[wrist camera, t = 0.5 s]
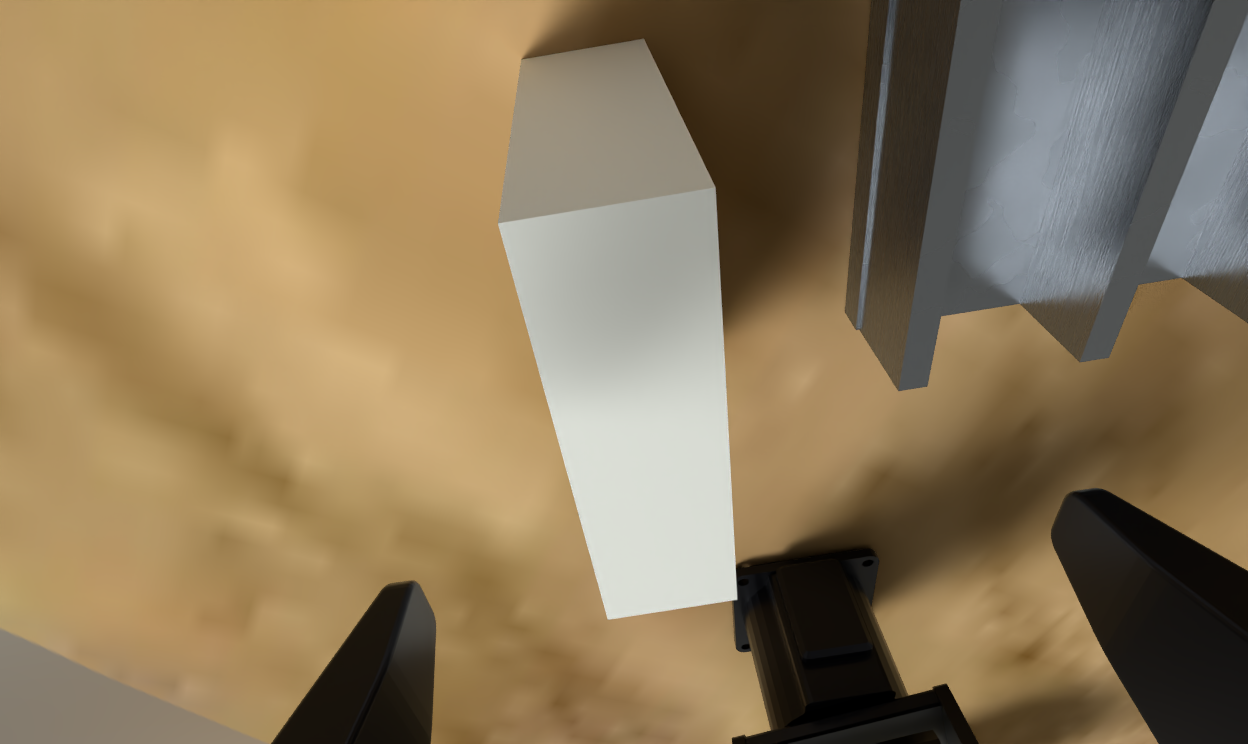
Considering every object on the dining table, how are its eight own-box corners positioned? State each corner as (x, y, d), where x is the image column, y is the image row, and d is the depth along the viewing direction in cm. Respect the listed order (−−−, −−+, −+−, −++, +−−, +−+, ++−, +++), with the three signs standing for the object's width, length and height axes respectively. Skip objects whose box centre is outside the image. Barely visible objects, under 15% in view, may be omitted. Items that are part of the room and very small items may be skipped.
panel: (678, 362, 22) (737, 599, 15) (590, 376, 22) (607, 619, 15) (643, 38, 16) (715, 187, 9) (521, 59, 16) (497, 223, 9)
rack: (1344, 231, 21) (1489, 302, 18) (844, 312, 22) (897, 396, 18) (1743, -441, 13) (2166, -542, 9) (896, -290, 13) (1015, -337, 10)
